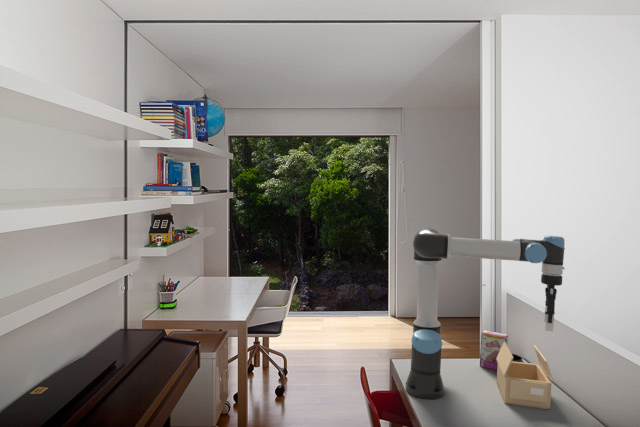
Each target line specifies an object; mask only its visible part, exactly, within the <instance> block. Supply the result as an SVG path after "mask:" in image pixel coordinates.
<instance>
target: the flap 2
mask: <svg viewBox="0 0 640 427" xmlns="http://www.w3.org/2000/svg"><path fill="white" fill-rule="evenodd" d="M533 348H534V351H535V354H536V357H537V361H538V362H539V363H538V364H539V366H540V367H541V369H542V370H543V372H544V373H545V375H546V376H547V377H548V379H549V380H550V382H551V383H552V382H554V379H553V375H552V373H551V370H550V366H549V364H548V360H547V359H546V358H545V357H544V355H543V354H542V353H541V350H539V349H538V348H537V345H535V344H534V345H533Z"/></svg>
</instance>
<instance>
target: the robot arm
mask: <svg viewBox="0 0 640 427" xmlns="http://www.w3.org/2000/svg"><path fill="white" fill-rule="evenodd" d="M412 242H413V243H412V244H413V245H412V246H413V247H412V248H413V260H414V262H415V263H416V266H417V268H416V270H417V272H416V273H417V276H416V278H417V279H416V318H415V320H414V321H413V322H412V327H413V328H412V336H411V353H410V354H411V356H410V370H409V374H408V376H407V379H406V381H405V391H406V392H407V393H408V394H409V395H411V396H413V397H416V398H420V399H424V400H435V399H437V400H438V399H440V398H442V397H443V396H444V395H445V386H444V382H443V379H442V376H441V368H442V367H441V365H442V364H441V363H442V346H443V341H442V336H441V332H442V329H441V328H442V327H441V325H442V324H441V322H440V321H439V320H438V295H439V294H438V291H439V290H438V289H439V286H438V285H439V284H438V283H439V278H438V277H439V273H438V272H439V271H438V270H439V264H440V263H441V262H442V261H443V259H444V260H445V259H449V258H451V257H454V258H455V257H457V258H470V259H484V260H485V259H488V260H498V261H499V260H501V261H502V260H503V261H516V262H517V261H519V262H529V263H531V264H540V263H541V277H540V278H541V279H540V282H541V283H542V284H543V285H546V287H545V289H544V291H545V302H544V303H545V307H544V320H543V323H545V326H544V327H545V328H544V330H545V331H548V332H554V324H555V314H556V313H555V307H556V304H555V303H556V302H555V301H556V300H557V288H555V287H556V286H558V287H559V286H562V284H563V276H562V275H563V272H564V271H563V270H565V267H564V256H565V249H566V248H565V238H564V237H562V236H558V235H557V236H556V235H544V237H543V240H542V239H541V240H540V239H537V240H536V239H527V238H526V239H525V238H514V239H512V240H501V239H500V240H499V239H483V238H472V237H471V238H469V237H456V236H455V237H453V236H451V235H450V234H447V233H446V234H445V233H439V232H438V231H437V230H435V229H433V228H429V227H428V228H422V229H420V230H419V231H417V233H416V234H415V235H414V238H413V241H412Z"/></svg>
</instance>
